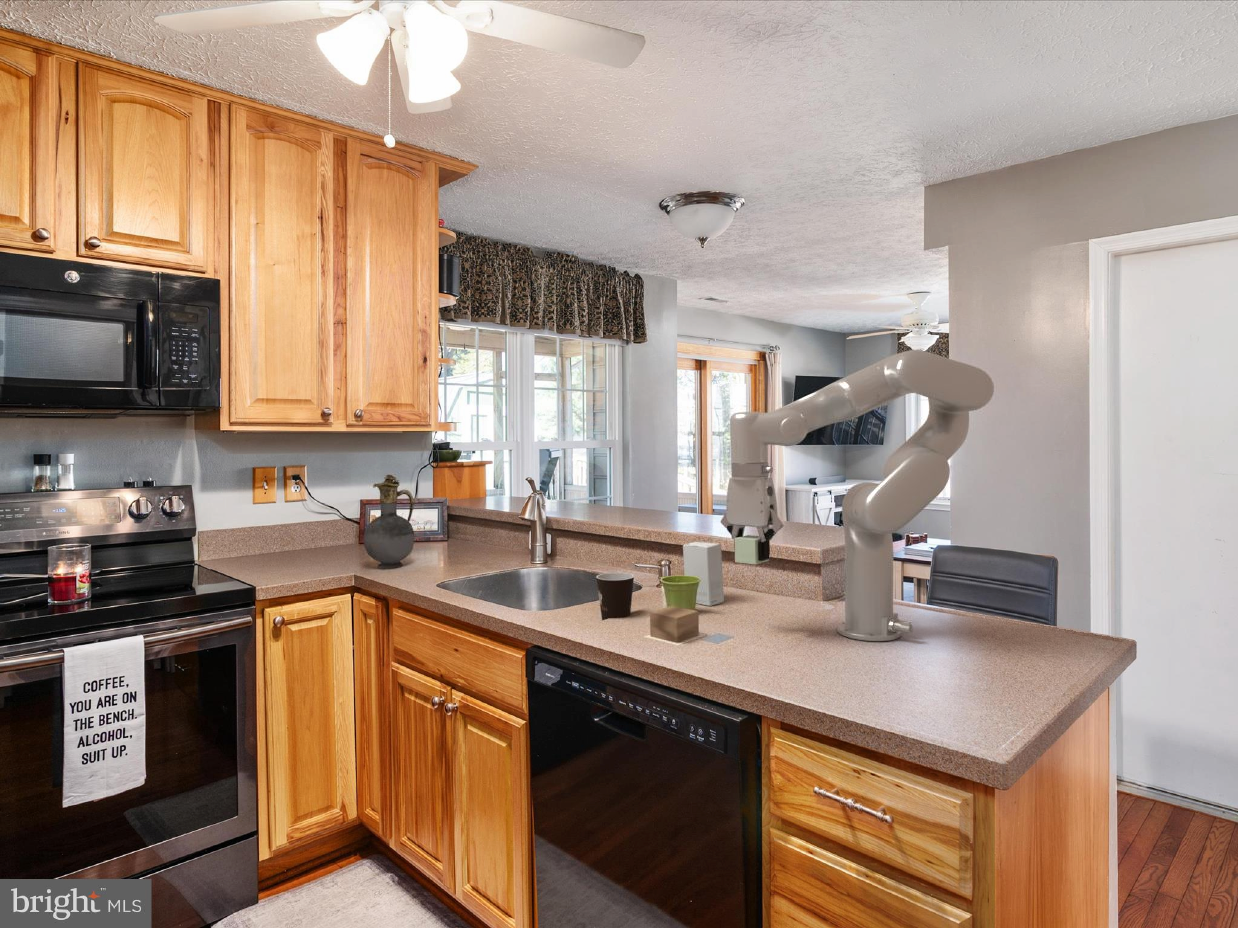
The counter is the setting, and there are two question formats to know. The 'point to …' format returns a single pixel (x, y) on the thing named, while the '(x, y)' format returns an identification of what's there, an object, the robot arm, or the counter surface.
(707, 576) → the skincare box
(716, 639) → the blueprint board
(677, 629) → the walnut block
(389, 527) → the pitcher
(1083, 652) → the counter surface
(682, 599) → the plant pot
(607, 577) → the coffee mug
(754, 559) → the sage cube
